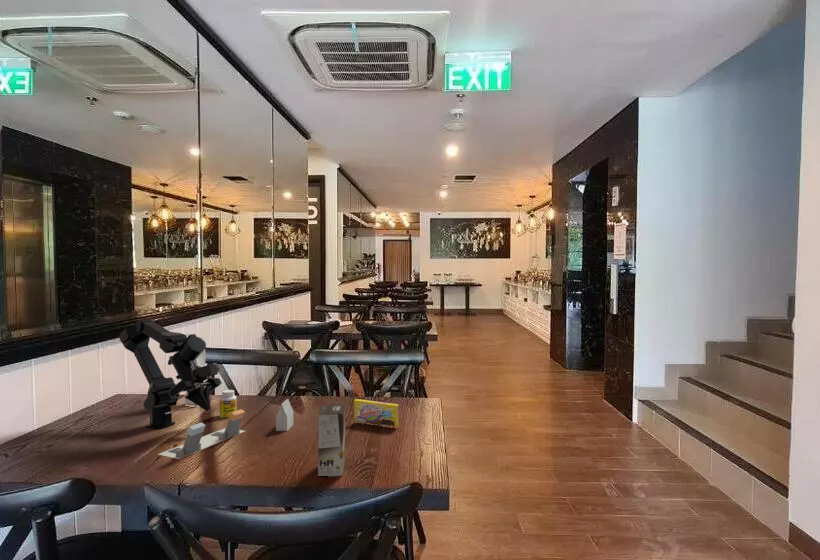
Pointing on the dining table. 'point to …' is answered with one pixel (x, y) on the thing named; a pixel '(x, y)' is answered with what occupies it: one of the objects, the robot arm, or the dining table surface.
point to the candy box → (376, 412)
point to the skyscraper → (200, 362)
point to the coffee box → (331, 440)
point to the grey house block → (284, 417)
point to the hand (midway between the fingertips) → (208, 410)
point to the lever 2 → (234, 423)
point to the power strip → (204, 443)
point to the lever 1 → (193, 438)
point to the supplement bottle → (227, 403)
